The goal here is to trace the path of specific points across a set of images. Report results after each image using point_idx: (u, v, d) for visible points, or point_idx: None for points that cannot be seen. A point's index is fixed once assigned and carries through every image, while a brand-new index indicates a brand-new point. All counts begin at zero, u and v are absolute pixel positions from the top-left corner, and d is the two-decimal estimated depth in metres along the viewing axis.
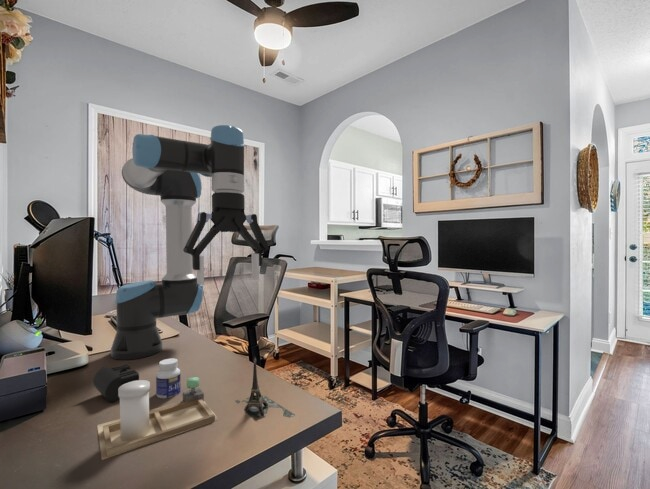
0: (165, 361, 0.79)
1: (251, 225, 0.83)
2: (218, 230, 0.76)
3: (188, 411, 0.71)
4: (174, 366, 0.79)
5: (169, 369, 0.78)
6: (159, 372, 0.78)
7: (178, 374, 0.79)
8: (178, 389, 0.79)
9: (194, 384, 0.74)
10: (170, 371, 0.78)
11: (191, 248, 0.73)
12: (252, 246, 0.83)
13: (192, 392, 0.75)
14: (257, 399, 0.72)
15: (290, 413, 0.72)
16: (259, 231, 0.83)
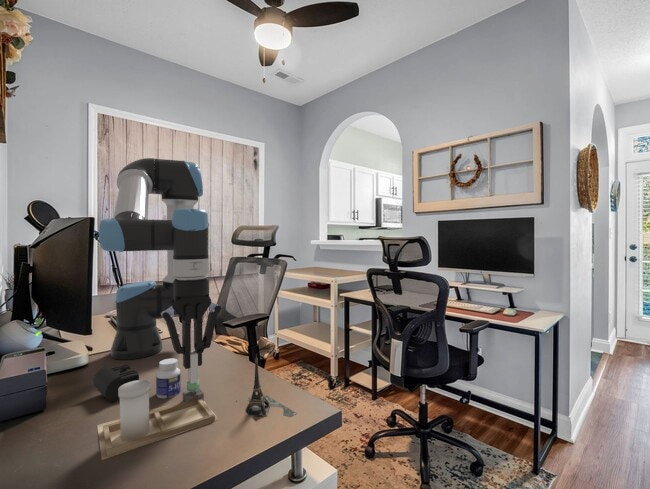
0: (165, 361, 0.79)
1: (210, 314, 0.78)
2: (189, 321, 0.73)
3: (188, 411, 0.71)
4: (174, 366, 0.79)
5: (169, 369, 0.78)
6: (159, 372, 0.78)
7: (178, 374, 0.79)
8: (178, 389, 0.79)
9: (194, 386, 0.74)
10: (170, 371, 0.78)
11: (179, 348, 0.72)
12: (195, 340, 0.75)
13: None
14: (259, 398, 0.73)
15: (292, 412, 0.73)
16: (212, 324, 0.77)
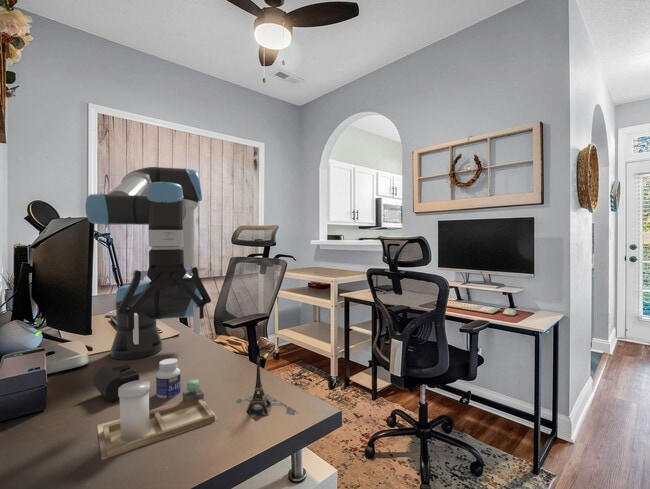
0: (164, 361, 0.79)
1: (192, 278, 0.83)
2: (154, 288, 0.76)
3: (188, 411, 0.71)
4: (174, 366, 0.79)
5: (169, 369, 0.78)
6: (159, 372, 0.78)
7: (178, 374, 0.79)
8: (178, 389, 0.79)
9: (194, 386, 0.74)
10: (170, 371, 0.78)
11: (124, 308, 0.73)
12: (193, 299, 0.82)
13: None
14: (261, 397, 0.73)
15: (293, 410, 0.73)
16: (200, 284, 0.83)
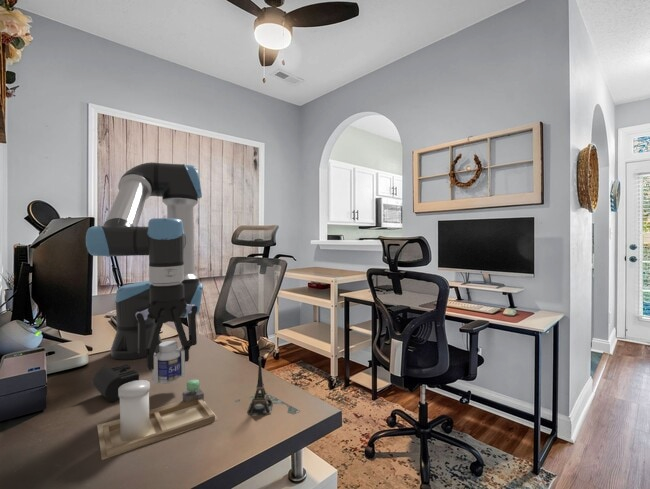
0: (164, 343, 0.80)
1: (189, 315, 0.83)
2: (160, 325, 0.77)
3: (188, 411, 0.71)
4: (174, 348, 0.79)
5: (169, 351, 0.78)
6: (159, 354, 0.79)
7: (178, 355, 0.80)
8: (178, 371, 0.80)
9: (194, 386, 0.74)
10: (170, 353, 0.79)
11: (143, 350, 0.76)
12: (180, 339, 0.81)
13: None
14: (262, 396, 0.74)
15: (295, 409, 0.74)
16: (193, 324, 0.82)
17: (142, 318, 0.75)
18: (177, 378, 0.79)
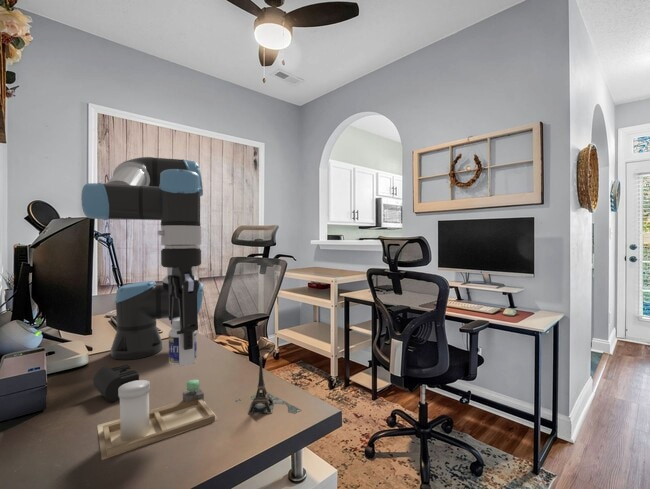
0: None
1: None
2: (170, 293, 0.68)
3: (188, 411, 0.71)
4: (174, 325, 0.66)
5: (172, 326, 0.67)
6: None
7: (175, 336, 0.65)
8: (175, 354, 0.66)
9: (194, 386, 0.74)
10: (173, 328, 0.67)
11: (169, 315, 0.72)
12: None
13: None
14: (263, 396, 0.74)
15: (296, 408, 0.74)
16: (183, 304, 0.63)
17: (169, 280, 0.71)
18: (173, 362, 0.66)
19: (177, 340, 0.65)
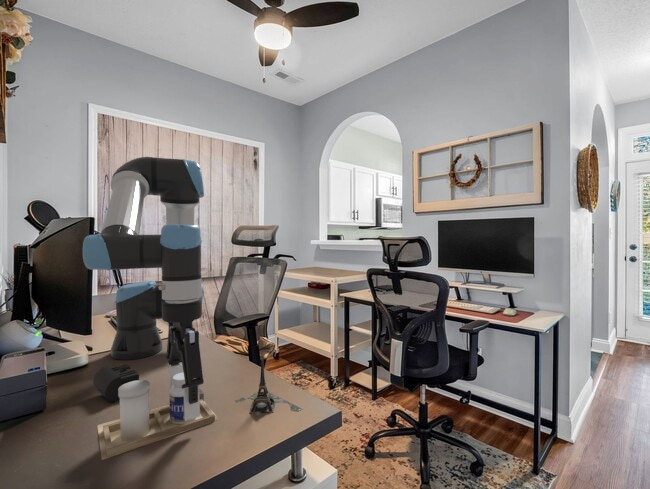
0: (183, 374, 0.69)
1: None
2: (170, 342, 0.69)
3: None
4: (175, 384, 0.67)
5: None
6: None
7: (176, 395, 0.66)
8: (176, 413, 0.66)
9: None
10: (174, 387, 0.67)
11: (167, 355, 0.74)
12: None
13: None
14: (265, 395, 0.74)
15: (297, 407, 0.75)
16: (186, 357, 0.62)
17: (169, 326, 0.72)
18: (174, 421, 0.66)
19: (178, 399, 0.66)
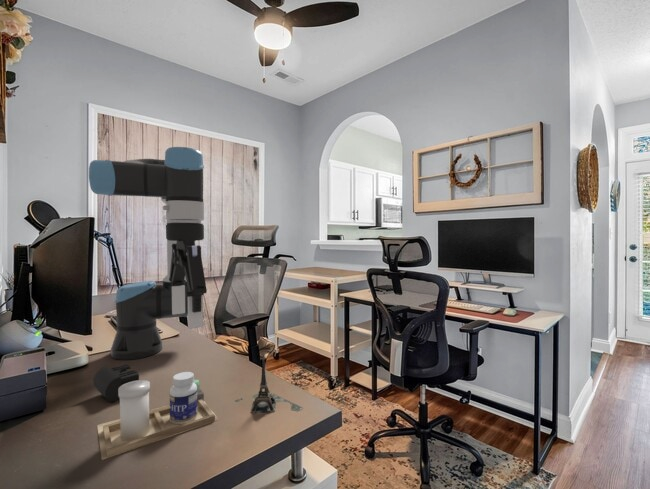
0: (183, 374, 0.69)
1: None
2: (173, 263, 0.73)
3: None
4: (175, 384, 0.67)
5: None
6: None
7: (176, 395, 0.66)
8: (176, 413, 0.66)
9: None
10: (174, 387, 0.67)
11: (170, 277, 0.78)
12: None
13: None
14: (266, 394, 0.74)
15: (298, 407, 0.75)
16: (189, 268, 0.65)
17: (172, 249, 0.75)
18: (174, 421, 0.66)
19: (178, 399, 0.66)
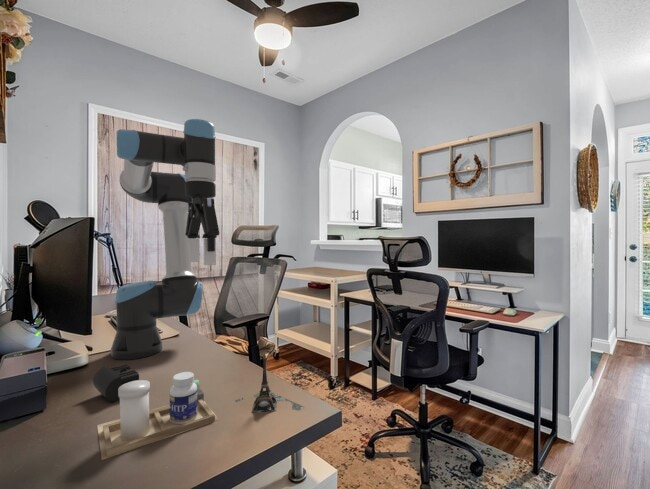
0: (183, 374, 0.69)
1: None
2: (190, 216, 0.88)
3: None
4: (175, 384, 0.67)
5: None
6: None
7: (176, 395, 0.66)
8: (176, 413, 0.66)
9: None
10: (174, 387, 0.67)
11: (186, 232, 0.93)
12: None
13: None
14: (267, 394, 0.75)
15: (299, 406, 0.75)
16: (205, 215, 0.80)
17: (189, 207, 0.90)
18: (174, 421, 0.66)
19: (178, 399, 0.66)
